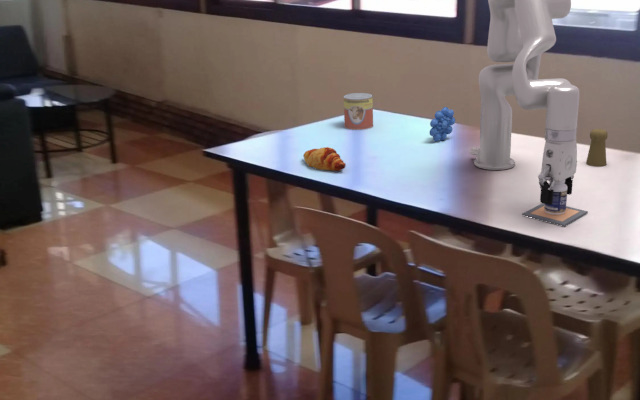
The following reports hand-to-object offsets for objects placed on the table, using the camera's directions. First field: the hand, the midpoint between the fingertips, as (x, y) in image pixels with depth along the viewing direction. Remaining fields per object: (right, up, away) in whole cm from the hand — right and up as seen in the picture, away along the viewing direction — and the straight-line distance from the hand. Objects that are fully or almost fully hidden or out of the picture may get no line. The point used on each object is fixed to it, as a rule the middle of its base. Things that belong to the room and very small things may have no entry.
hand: (555, 198), depth 191 cm
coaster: (0, -4, +2) cm, 4 cm away
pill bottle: (0, -4, +2) cm, 4 cm away
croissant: (-60, +10, +50) cm, 79 cm away
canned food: (-46, +28, +97) cm, 110 cm away
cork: (+25, +11, +40) cm, 49 cm away
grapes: (-18, +21, +73) cm, 78 cm away
